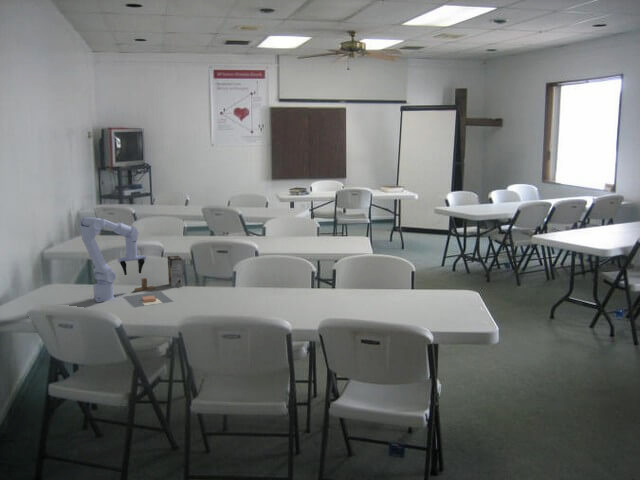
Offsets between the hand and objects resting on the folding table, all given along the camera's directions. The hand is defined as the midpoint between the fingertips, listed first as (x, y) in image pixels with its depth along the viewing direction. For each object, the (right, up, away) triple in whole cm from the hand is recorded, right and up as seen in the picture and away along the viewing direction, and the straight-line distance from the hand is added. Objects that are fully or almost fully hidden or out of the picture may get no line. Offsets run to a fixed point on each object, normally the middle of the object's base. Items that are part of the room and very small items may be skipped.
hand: (132, 273), depth 330 cm
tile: (+13, -13, -16) cm, 25 cm away
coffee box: (+19, -8, +16) cm, 26 cm away
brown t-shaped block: (+5, -10, +4) cm, 12 cm away
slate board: (+12, -13, -14) cm, 22 cm away
